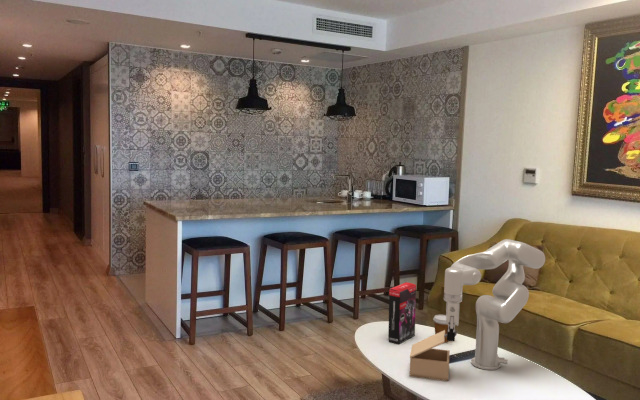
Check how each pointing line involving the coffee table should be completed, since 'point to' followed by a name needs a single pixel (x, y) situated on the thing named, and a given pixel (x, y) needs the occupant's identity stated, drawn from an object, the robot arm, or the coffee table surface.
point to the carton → (431, 364)
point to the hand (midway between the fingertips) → (450, 338)
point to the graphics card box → (402, 312)
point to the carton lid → (428, 343)
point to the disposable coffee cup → (440, 324)
